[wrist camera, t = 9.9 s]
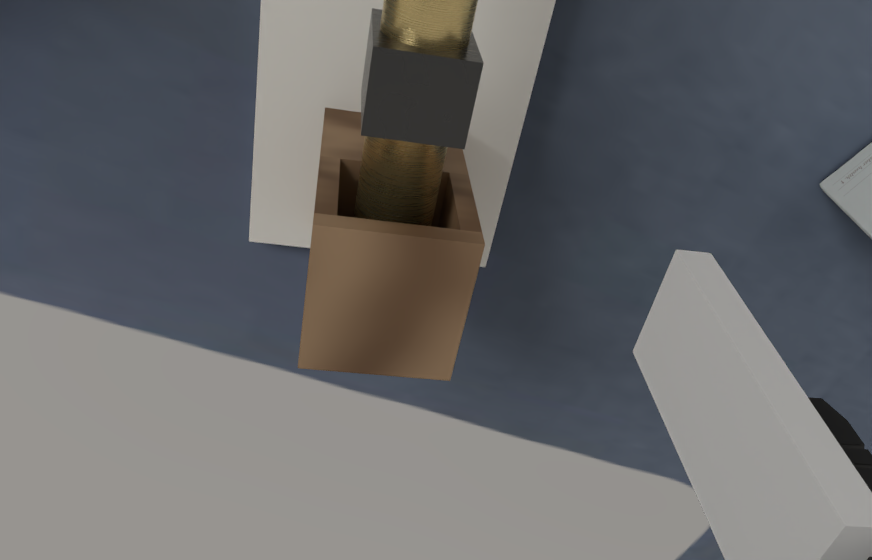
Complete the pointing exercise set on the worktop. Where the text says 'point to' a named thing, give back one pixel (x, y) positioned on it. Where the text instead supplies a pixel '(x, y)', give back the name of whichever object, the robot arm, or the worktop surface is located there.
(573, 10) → the worktop surface
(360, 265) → the walnut socket
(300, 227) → the base board
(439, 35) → the brass rod
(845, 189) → the supplement box
